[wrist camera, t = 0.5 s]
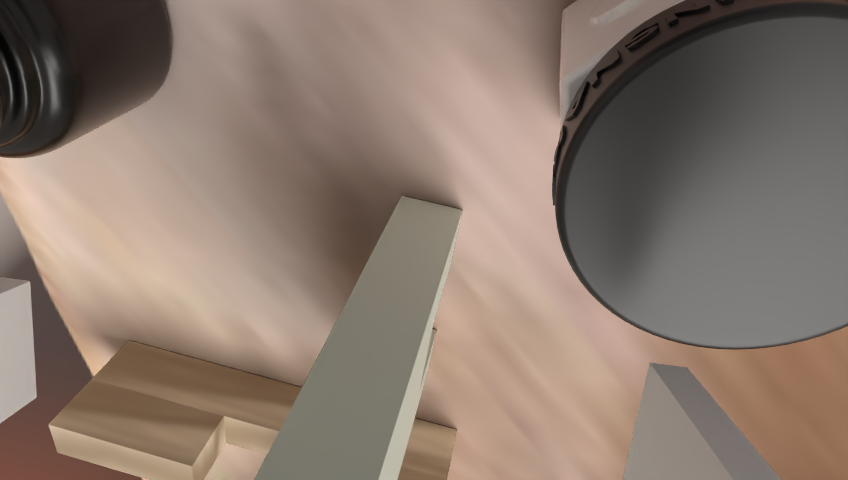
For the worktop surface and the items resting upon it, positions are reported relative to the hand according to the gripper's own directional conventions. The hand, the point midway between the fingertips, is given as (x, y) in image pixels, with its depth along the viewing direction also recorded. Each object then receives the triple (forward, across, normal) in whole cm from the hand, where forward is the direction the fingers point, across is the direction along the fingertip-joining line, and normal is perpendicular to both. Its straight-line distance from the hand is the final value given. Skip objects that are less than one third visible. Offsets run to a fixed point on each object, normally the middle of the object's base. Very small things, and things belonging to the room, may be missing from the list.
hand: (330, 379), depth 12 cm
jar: (+13, +10, +8) cm, 18 cm away
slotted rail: (+22, -7, -14) cm, 27 cm away
